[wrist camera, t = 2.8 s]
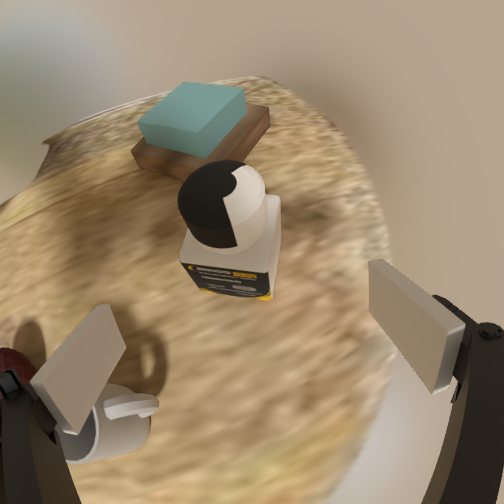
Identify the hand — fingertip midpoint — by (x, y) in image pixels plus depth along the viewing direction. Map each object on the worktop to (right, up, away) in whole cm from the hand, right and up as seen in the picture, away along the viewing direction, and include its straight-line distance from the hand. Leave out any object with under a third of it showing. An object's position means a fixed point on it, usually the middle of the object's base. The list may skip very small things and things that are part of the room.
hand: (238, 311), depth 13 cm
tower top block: (-7, +19, +22) cm, 30 cm away
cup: (-11, -13, +9) cm, 19 cm away
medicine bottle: (0, +1, +16) cm, 16 cm away
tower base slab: (-6, +18, +26) cm, 32 cm away
